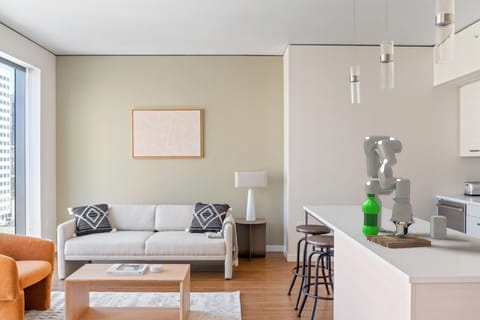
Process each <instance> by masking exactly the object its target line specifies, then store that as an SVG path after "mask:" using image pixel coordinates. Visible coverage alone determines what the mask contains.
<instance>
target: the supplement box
mask: <svg viewBox="0 0 480 320" xmlns="http://www.w3.org/2000/svg"><path fill="white" fill-rule="evenodd" d="M429 217H430V220H429V225H430V226H429V236H430V238H432V239H436V240H447V238H448V236H447V232H448V231H447V230H448V229H447V228H448V227H447V226H448V224H447V223H448V217H446V216H444V215H430V216H429Z"/></svg>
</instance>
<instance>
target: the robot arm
mask: <svg viewBox="0 0 480 320" xmlns="http://www.w3.org/2000/svg"><path fill="white" fill-rule="evenodd" d="M362 146H363V151H364V154H365V162H366V163H365V166H366V168H365V169H366V175H367V177H368V178H369V179H372V180H368V181H366V182H365V185H364V192H365V202H366V201H367V200H368V197H367V194H369V193H370V194H375V197H374V200H375V201H376V202H377V203H378V204H379V206H380V212H379V213H378V222H377V226H378V228H379V233H381V232H384V231H385V228H384V227H382V223H383V222H382V218H383V217H382V215H383V214H382V213H383V210H382V209H383V203H382V200H381V198H380V197H379V196H386V197H387V196H391V195H392V194H393V192H395V196H394V197H393V198H392V201H394V202H393V205H392V211H391V217H390V219H389V221H390V222H392V223H393V225H395V227H396V229H395V231H396V233H397V225H398V224H401V222H402V223H404V224H405V228H404V235H406V234H409V227H410V226H412V225H414V224H416V221H415V220H414V218H413V205H412V203H411V180H410V179H409V178H403V177H400V176H399V177H396V176H394V174H393V171H394V170H393V168H392V167H393V166H396V164H397V163H398V160H397V159H398V158H397V157H396V154H401V152H402V150H403V144H402V142H401V141H400V140H399V139H397V138H395V137H393V136H390V135H368V136H366V137H365V138H364V140H363V144H362ZM373 179H374V180H373ZM375 179H376V180H375Z"/></svg>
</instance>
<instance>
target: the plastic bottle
mask: <svg viewBox="0 0 480 320" xmlns="http://www.w3.org/2000/svg"><path fill="white" fill-rule="evenodd" d="M367 197H368V200H367V201H366V200H365V201H364V202H363V203H362V204H361V211H362V212H363V225H362V227H361V230H362V233H363V235H364V236H365V237H367V235H379V233H380V232H379V228H378V226H377V222H378V213H379V212H380V206H379V204H378V203H377V202H376V201H375V200H374V197H375V194H370V193H369V194H367Z"/></svg>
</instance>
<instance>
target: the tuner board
mask: <svg viewBox="0 0 480 320" xmlns="http://www.w3.org/2000/svg"><path fill="white" fill-rule="evenodd" d="M395 234H396V233H393V234H377V235H367V236H366V240H367V241H368V240H369V242H371V241H372V243H374V244H376V243H377V244H376V245H379V244H380V245H379V246H382V245H383V246H382V247H385V248H387V247H388V249H390V247H395V248H409V247H410V248H411V247H413V248H414V247H430V246H432V241H431V240H429V239H426V238H423V237H418V236H416V235H412V234H409V233H407V234H406V235H404V237H400V235H397V236H395Z"/></svg>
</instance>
